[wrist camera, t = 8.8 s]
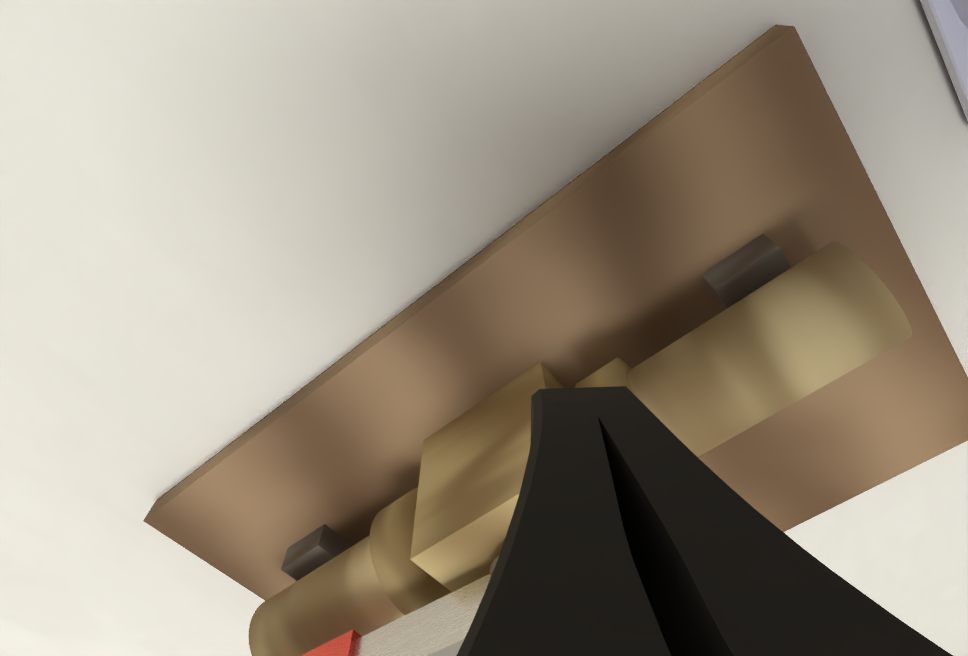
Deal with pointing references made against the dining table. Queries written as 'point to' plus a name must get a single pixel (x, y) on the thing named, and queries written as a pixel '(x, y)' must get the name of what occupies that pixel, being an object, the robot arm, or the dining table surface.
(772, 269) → the valve board
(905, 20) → the dining table surface
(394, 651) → the valve lever
